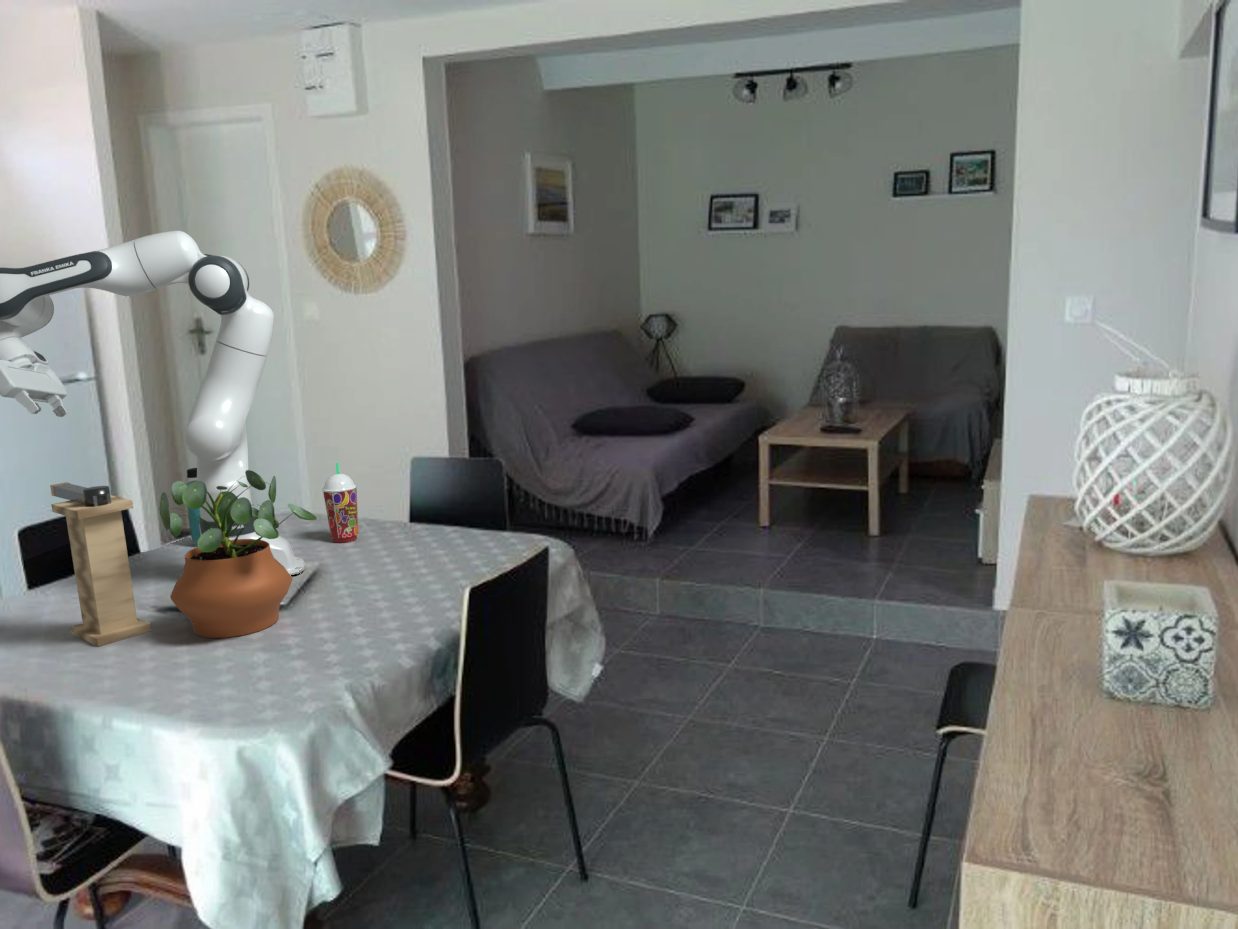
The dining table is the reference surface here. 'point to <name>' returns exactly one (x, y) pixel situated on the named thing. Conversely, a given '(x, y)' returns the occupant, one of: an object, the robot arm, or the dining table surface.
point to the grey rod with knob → (82, 494)
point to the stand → (102, 571)
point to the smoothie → (341, 507)
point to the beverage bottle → (193, 511)
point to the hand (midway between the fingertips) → (50, 413)
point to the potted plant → (229, 561)
